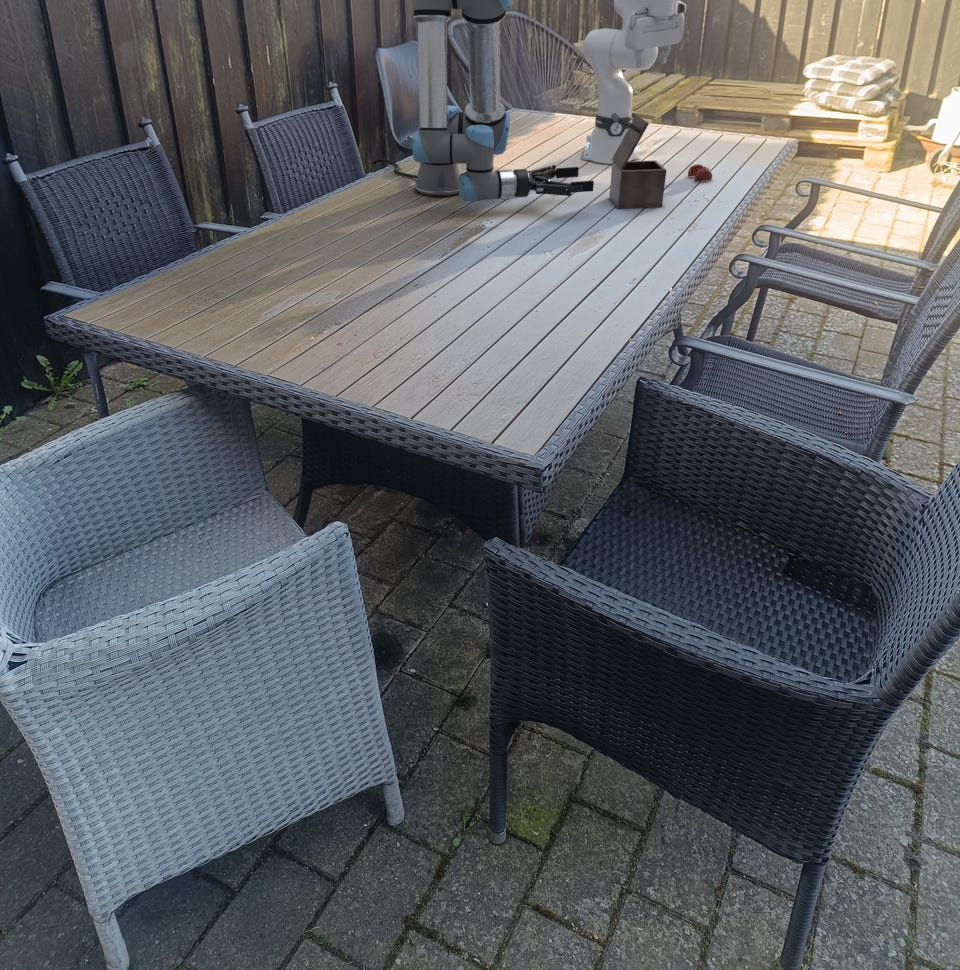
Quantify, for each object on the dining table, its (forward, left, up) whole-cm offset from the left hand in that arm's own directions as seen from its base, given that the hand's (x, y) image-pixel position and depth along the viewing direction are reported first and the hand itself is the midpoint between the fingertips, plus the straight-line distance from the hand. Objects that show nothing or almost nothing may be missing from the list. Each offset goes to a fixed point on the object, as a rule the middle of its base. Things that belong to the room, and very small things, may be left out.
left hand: (585, 178), depth 241 cm
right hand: (+10, +13, +29) cm, 33 cm away
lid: (+8, +10, +9) cm, 16 cm away
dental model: (+14, +46, -8) cm, 49 cm away
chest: (+10, +12, -8) cm, 18 cm away
